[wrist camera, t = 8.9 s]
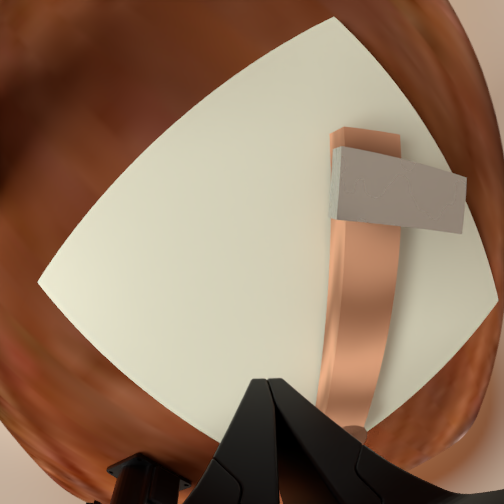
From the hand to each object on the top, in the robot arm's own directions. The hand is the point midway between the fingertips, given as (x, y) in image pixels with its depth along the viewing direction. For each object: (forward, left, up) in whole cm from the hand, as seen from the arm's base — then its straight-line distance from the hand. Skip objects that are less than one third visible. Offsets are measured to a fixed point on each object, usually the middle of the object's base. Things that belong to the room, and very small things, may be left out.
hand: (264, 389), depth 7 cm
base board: (+3, -4, -9) cm, 10 cm away
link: (+3, -6, -8) cm, 10 cm away
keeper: (+9, -1, -9) cm, 13 cm away
